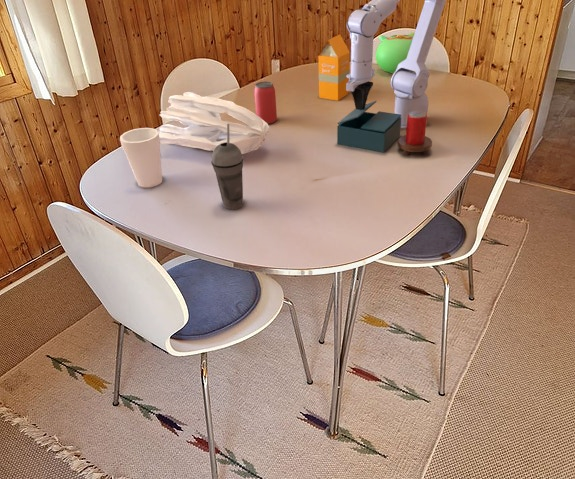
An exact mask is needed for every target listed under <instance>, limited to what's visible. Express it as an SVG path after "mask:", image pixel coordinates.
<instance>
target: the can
mask: <svg viewBox="0 0 575 479" xmlns="http://www.w3.org/2000/svg"><path fill="white" fill-rule="evenodd" d="M426 123H427V124H428V113H427V114H426V113H424V112H420V111H414V112H410V113H409V114H408V118H407V127H406V129H405V130H406V131H405V135H406V140H405V141H406V142H407V143H409V144H413V145H419V144H422V143H424V141H425V136H426V133H427V132H426V131H427V125H426Z"/></svg>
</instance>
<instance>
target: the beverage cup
mask: <svg viewBox="0 0 575 479" xmlns="http://www.w3.org/2000/svg"><path fill="white" fill-rule="evenodd" d="M210 162H211V166H212V168H213V170H214V173H215V176H216V180H217V184H218V188H219V193H220V198H221V201H222V204H223V207H224V208H225V209H226V210H231V211H232V210H237V209H240V208H242V207H243V204H244V202H243V200H244V187H243V185H244V184H243V183H244V182H243V168H244V157H243V154H242V153H241V151H240V149H239V148H238V147H237V146H236V145H234V144H232V143H229V124H227V142H225V143H221V144H219V145H218V146H217V147H216V148H215V149H214V151H213V150H212V153H211V161H210Z"/></svg>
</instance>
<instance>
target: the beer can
mask: <svg viewBox="0 0 575 479" xmlns="http://www.w3.org/2000/svg"><path fill="white" fill-rule="evenodd" d="M253 93H254V105H255V107H254V108H255V114H256V115H257V116H259V117H260V118H261V119H262V120H264V121H265V122H266V123H267V124H268V125H270V124H274V123H275V122H276V121H277V120H278V114H277V113H278V111H277V98H276V89H275V86H274V83H273V82H271V81H266V80H265V81H259V82H257V83H255V87H254V91H253Z"/></svg>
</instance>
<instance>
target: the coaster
mask: <svg viewBox="0 0 575 479" xmlns="http://www.w3.org/2000/svg"><path fill="white" fill-rule="evenodd" d="M405 140H406V134H405V135H402V136H399V137H398V138H397V146H398V148H399V149H401V150H403V155H404V156H409V153H410V152H411V153H422V154H423V155H427V154H428V151H429V150H430V149H431V148H432V147H433V140H432V139H431V138H430V137H429V136H426V135H425V141H424V143H422V144H419V145H413V144H409V143H407V142H406V141H405Z"/></svg>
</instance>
